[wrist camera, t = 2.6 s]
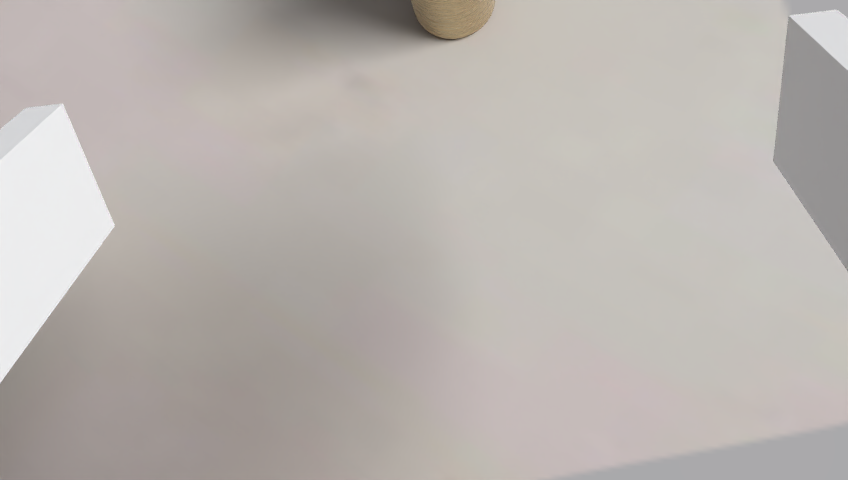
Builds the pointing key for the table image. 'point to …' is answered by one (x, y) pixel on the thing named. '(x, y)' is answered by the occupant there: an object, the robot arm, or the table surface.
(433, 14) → the pin
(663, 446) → the table surface
